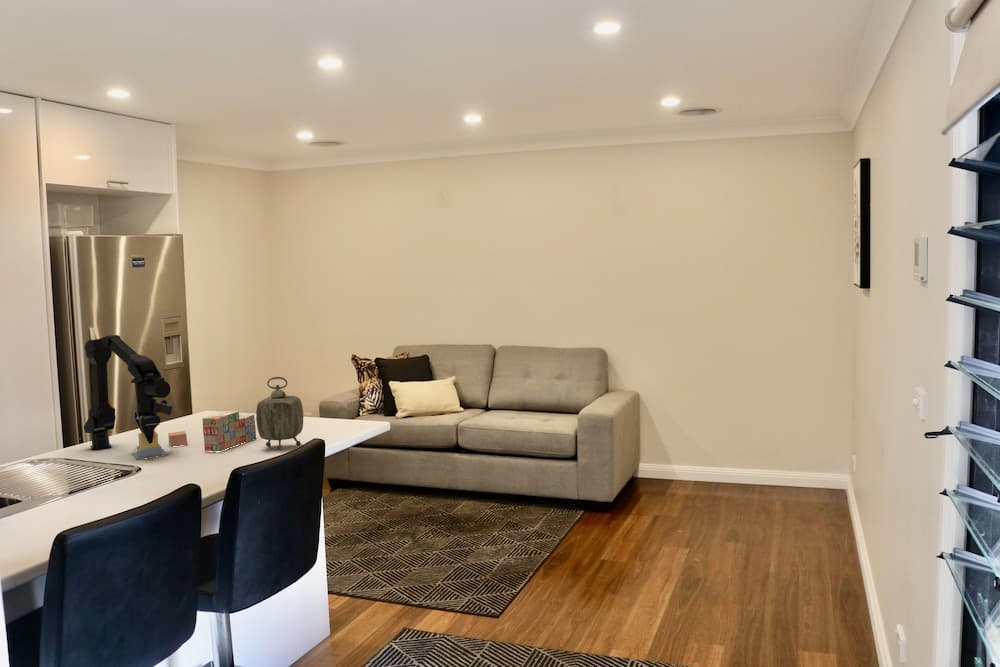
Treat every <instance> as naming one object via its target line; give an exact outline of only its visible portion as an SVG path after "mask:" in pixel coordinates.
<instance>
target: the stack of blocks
mask: <svg viewBox="0 0 1000 667" xmlns="http://www.w3.org/2000/svg"><path fill="white" fill-rule="evenodd" d="M255 417H256V416H255V414H250V413H249V414H245V413H243V414H242V413H241V414H240V411H237V410H232V411H230V410H223V411H221V412H217V413H214V414H211V415H208V416H204V417H202V432H203V446H204V452H205V451H222V450H225V449H227V448H230V447H233V446H236V445H238V444H241V443H244V442H247V443H249V442H251V441H250V440H252V441H254V440H257V430H256V429H257V425H256V418H255ZM253 439H254V440H253ZM248 441H249V442H248ZM244 444H245V443H244ZM241 445H242V444H241ZM236 447H237V446H236Z"/></svg>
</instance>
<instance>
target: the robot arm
mask: <svg viewBox="0 0 1000 667" xmlns="http://www.w3.org/2000/svg"><path fill="white" fill-rule="evenodd" d="M84 350H85V356H86V358H87V360H88V361H89V362H90V364H91V377H92V378H91V381H92V397H93V398H92V399H93V403H92V405H91V407H90V408H89V410H88V419H87V420H86V422H85V423H84V426H83V431H84V433H87V434H90V438H91V439H90V440H91V445H90V449H91V451H95V450H96V451H97V450H103V449H110V448H112V444H111V443H110V437H109V436H110V434H109V431H110V430H114V429H115V423H116V419H117V417H116V408H115V407H112V405H111V404H110V401H109V400H110V399H109V383H108V382H109V380H108V378H109V377H108V363H109V361H110V359H111V357H112V352H113V353H114V354H115V355H116V356H117V357H118V358H119V359H120V360H121V361H122V362H124V363H125V365H127V371H128V372H129V374H130V375H131V376H132V377H133V378H132V379H131V381H130V383H131V384H134V389H135V390H134V391H135V404H136V409H134V411H133V413H132V414H133V418H134V421H135V423H136V424H137V427H138V428H139V430H140V433H144V435H145V437H146V439H147V441H148V443H149V444H150V443H152V442H153V436H154V431H155V430H156V429H157V427H158V426H159V425H160V423H161V417H160V416H159V415H158V413H161V414H165V415H166V416H171V414H172V411H173V405H172V404H169V403H168V401H167V400H166V399H165V398H166V397H168V396H169V394H170V393H171V386H170V384H169V383H168V382H167V381H165V378H164V377H162V374H161V372H160V371H159V369H158V367H157V365H156V364H155V362H154V360H152V359H151V358H149V357H148V356H146V355H142V354H139V353H137V352H136V351H135V350H134V349H133V348H132V347H131V346H129V345H128V343H126V342H125V341H124V340H122V338H121V336H120V335H118V334H111V335H105V336H103V337H101V338H94V339H88V340H87V341H86V342H85V345H84ZM157 398H158V399H159V398H160V399H161V400H160V401H157Z"/></svg>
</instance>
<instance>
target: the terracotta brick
mask: <svg viewBox="0 0 1000 667" xmlns="http://www.w3.org/2000/svg"><path fill="white" fill-rule="evenodd" d="M167 436H168V446H169V445H170V446H171V447H173V446H180V445H187V446H188V438H187V436H188V435H187V433H186V431H184V430H183V431H175V432H168V434H167ZM170 446H169V447H170ZM171 447H170V448H171Z"/></svg>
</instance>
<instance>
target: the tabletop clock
mask: <svg viewBox="0 0 1000 667" xmlns="http://www.w3.org/2000/svg"><path fill="white" fill-rule="evenodd" d="M273 380H283V381H284V382H285V385H284V386H283V385H282V386H280V385H279V384H276V386H271V385H270V384H269V383H270V381H273ZM267 386H268V387H269V388H270V389H272V390H273V391H272V392H271V393H270V396H268V397H266V398H264V399H262V400H261V401H259V402H258V403H257V405H256V409H255V410H256V413H255V414H256V415H255V417H256V418H255V423H256V429H257V432H258V435H259V437H260V439H263V440H266V441H267V442H266V443H265V446H266V447H270V446H271V441H278V445H277V450H282V449H283V445H282V444H281V442H282V441H285V440H291V439H293V440H294V441H295V442H296V443H295V444H296V446H300V445H302V444H301V441H300V440H298V439H297V436H299V435H300V434H301V433H302V431H303V428H304V409H303V403H302V401H301V398H300V397H298V396H296V395H288V394H286V392H285V390H282V389H284V388H286V387H287V386H288V380H287V379H286V378H285V377H282V376H274V377H271V378H269V379H268V380H267Z"/></svg>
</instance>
